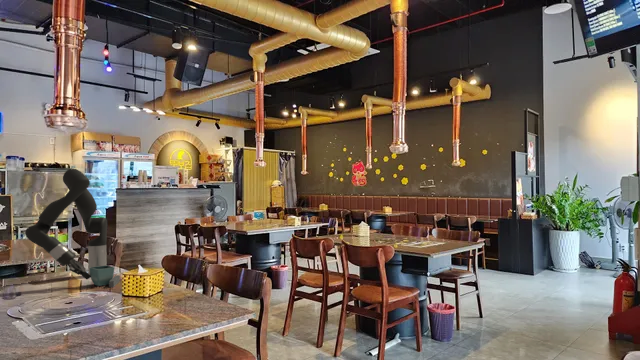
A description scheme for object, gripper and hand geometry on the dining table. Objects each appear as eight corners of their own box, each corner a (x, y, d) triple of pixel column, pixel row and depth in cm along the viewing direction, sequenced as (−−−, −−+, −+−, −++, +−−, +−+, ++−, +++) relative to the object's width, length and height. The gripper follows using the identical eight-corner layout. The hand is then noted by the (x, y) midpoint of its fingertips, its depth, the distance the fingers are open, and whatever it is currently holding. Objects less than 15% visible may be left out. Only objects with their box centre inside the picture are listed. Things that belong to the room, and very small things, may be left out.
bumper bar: (109, 287, 204) (109, 281, 205) (115, 281, 220) (115, 275, 220) (113, 287, 205) (113, 281, 205) (119, 280, 220) (119, 275, 220)
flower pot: (114, 284, 212) (115, 266, 212) (97, 287, 205) (97, 269, 205) (105, 282, 217) (106, 265, 217) (88, 285, 210) (89, 267, 210)
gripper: (60, 258, 212) (86, 281, 215) (51, 262, 199) (79, 286, 202) (72, 247, 214) (98, 270, 216) (64, 250, 201) (91, 274, 204)
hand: (89, 278), depth 209 cm, fingers closed
